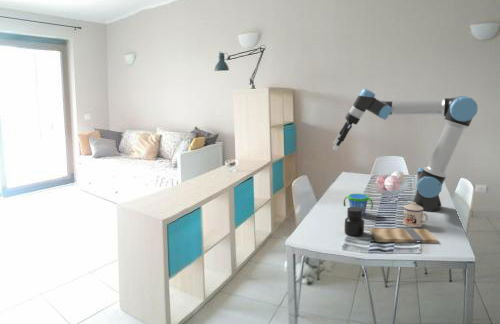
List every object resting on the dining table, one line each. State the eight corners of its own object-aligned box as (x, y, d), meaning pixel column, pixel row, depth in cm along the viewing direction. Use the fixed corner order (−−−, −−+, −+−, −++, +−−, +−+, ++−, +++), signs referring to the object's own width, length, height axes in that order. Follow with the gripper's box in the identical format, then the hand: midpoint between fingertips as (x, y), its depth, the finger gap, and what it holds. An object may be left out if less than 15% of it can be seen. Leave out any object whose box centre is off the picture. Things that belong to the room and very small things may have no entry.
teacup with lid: (399, 224, 187) (400, 202, 185) (408, 220, 192) (409, 198, 190) (422, 230, 178) (424, 207, 175) (431, 226, 183) (433, 203, 181)
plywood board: (426, 232, 176) (426, 229, 176) (436, 243, 163) (437, 239, 163) (369, 231, 179) (370, 228, 178) (376, 241, 166) (376, 238, 166)
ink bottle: (361, 229, 181) (362, 206, 179) (367, 236, 172) (368, 211, 170) (341, 230, 181) (342, 206, 178) (346, 237, 172) (347, 212, 170)
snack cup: (340, 214, 204) (340, 196, 202) (347, 209, 213) (347, 191, 211) (368, 219, 195) (369, 200, 193) (374, 213, 204) (375, 195, 202)
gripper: (348, 108, 219) (330, 139, 227) (348, 115, 196) (327, 149, 204) (359, 114, 219) (340, 145, 227) (361, 122, 196) (340, 155, 203)
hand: (334, 147), depth 215 cm, fingers open, 13 cm apart
